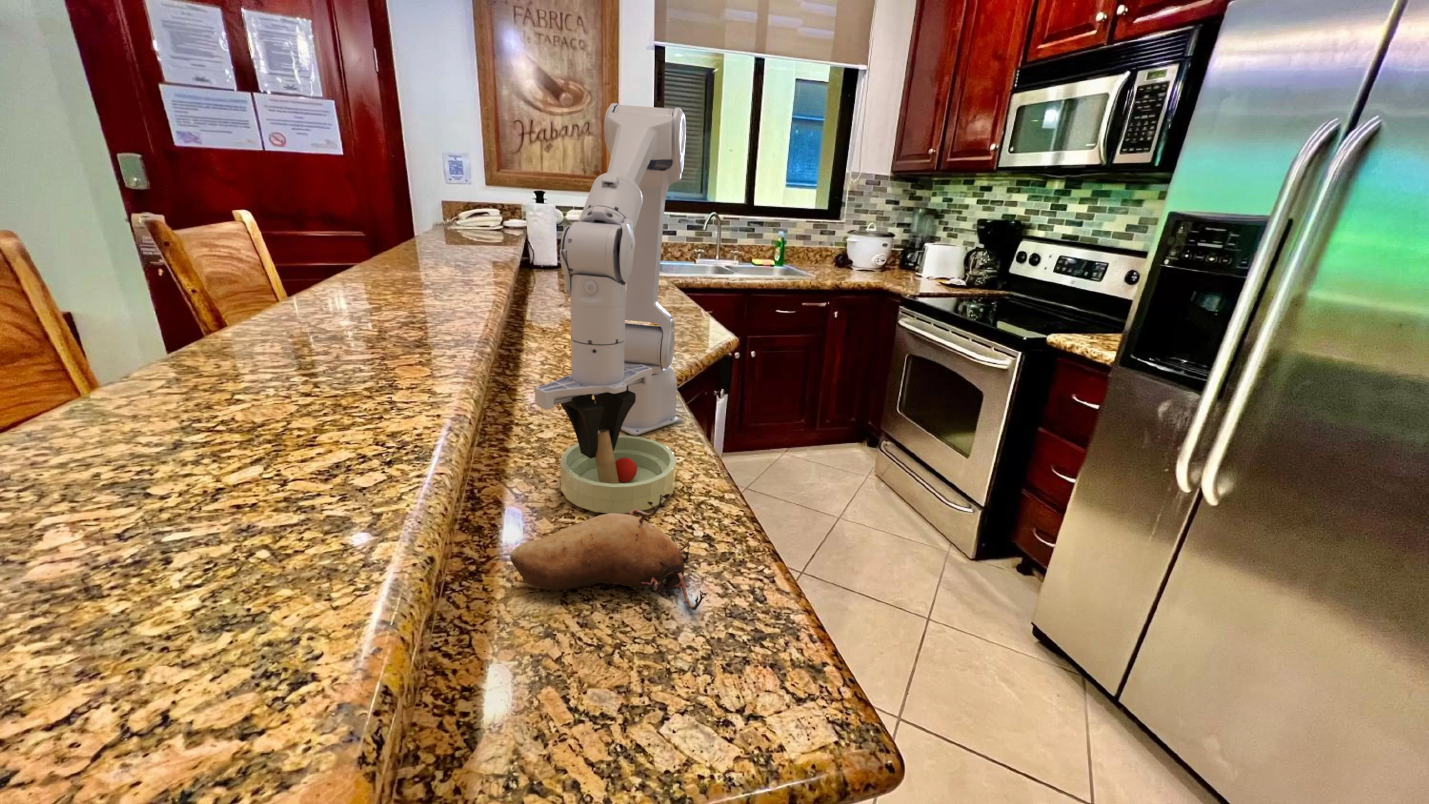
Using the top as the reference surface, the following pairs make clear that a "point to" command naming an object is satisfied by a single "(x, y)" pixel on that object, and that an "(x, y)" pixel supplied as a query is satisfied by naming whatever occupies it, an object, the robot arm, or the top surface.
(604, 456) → the stick
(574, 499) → the bowl
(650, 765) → the top surface
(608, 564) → the vegetable
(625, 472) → the ball
